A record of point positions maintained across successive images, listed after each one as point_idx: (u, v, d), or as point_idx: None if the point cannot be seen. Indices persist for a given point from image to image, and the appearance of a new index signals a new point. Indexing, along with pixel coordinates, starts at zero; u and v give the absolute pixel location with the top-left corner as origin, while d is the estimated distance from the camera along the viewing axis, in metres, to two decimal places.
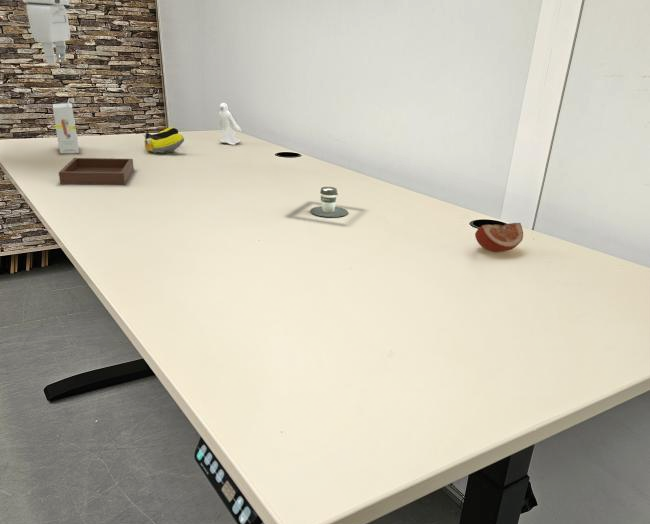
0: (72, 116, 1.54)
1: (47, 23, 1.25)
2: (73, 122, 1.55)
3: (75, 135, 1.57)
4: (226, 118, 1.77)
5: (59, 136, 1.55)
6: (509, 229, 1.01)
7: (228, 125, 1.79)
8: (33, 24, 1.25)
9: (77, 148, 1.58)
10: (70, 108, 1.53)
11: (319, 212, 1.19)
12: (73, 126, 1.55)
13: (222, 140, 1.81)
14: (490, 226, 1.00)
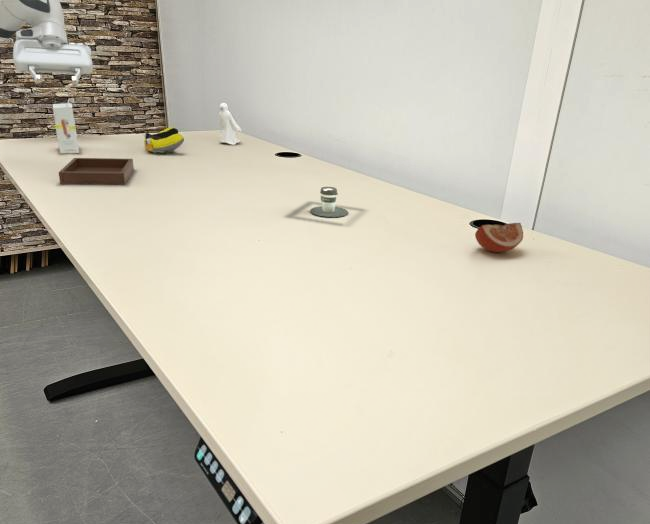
0: (72, 116, 1.54)
1: (13, 51, 1.60)
2: (73, 122, 1.55)
3: (75, 135, 1.57)
4: (226, 118, 1.77)
5: (59, 136, 1.55)
6: (509, 229, 1.01)
7: (228, 125, 1.79)
8: None
9: (77, 148, 1.58)
10: (70, 108, 1.53)
11: (319, 212, 1.18)
12: (73, 126, 1.55)
13: (222, 140, 1.81)
14: (490, 226, 1.00)
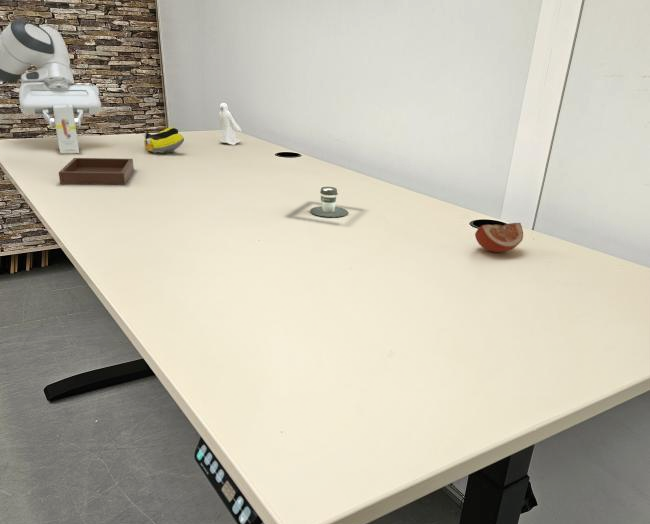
0: (72, 116, 1.54)
1: (19, 95, 1.54)
2: (73, 122, 1.55)
3: (75, 135, 1.57)
4: (226, 118, 1.77)
5: (59, 136, 1.55)
6: (509, 229, 1.01)
7: (228, 125, 1.79)
8: None
9: (77, 148, 1.58)
10: (70, 108, 1.53)
11: (319, 212, 1.18)
12: (73, 126, 1.55)
13: (222, 140, 1.81)
14: (490, 226, 1.00)
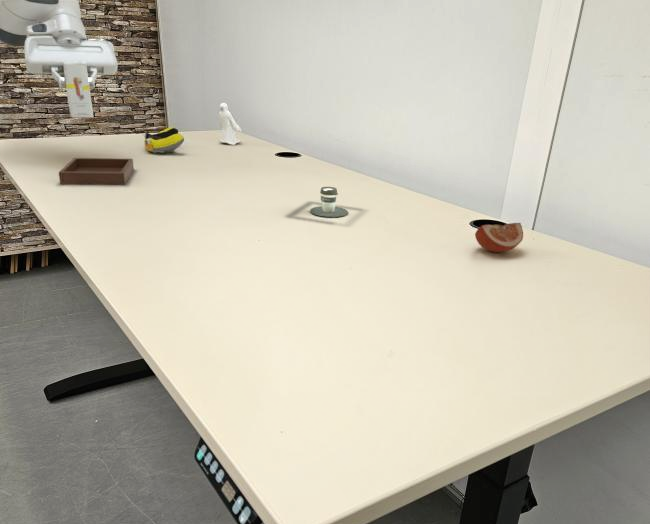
0: (86, 74, 1.35)
1: (24, 50, 1.34)
2: (87, 81, 1.35)
3: (89, 96, 1.37)
4: (226, 118, 1.77)
5: (71, 97, 1.35)
6: (509, 229, 1.01)
7: (228, 125, 1.79)
8: None
9: (91, 112, 1.38)
10: (84, 64, 1.34)
11: (319, 212, 1.18)
12: (87, 86, 1.36)
13: (222, 140, 1.81)
14: (490, 226, 1.00)
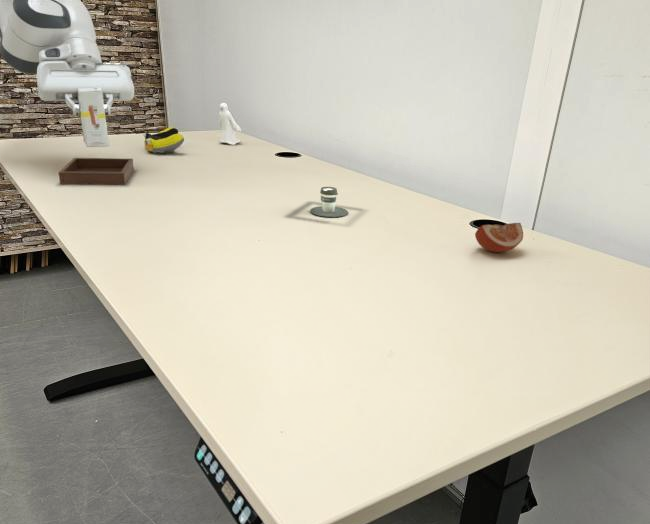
0: (102, 102, 1.27)
1: None
2: (103, 109, 1.28)
3: (105, 125, 1.29)
4: (226, 118, 1.77)
5: (86, 126, 1.28)
6: (509, 229, 1.01)
7: (228, 125, 1.79)
8: None
9: (107, 141, 1.31)
10: (99, 92, 1.26)
11: (319, 212, 1.18)
12: (103, 114, 1.28)
13: (222, 140, 1.81)
14: (490, 226, 1.00)
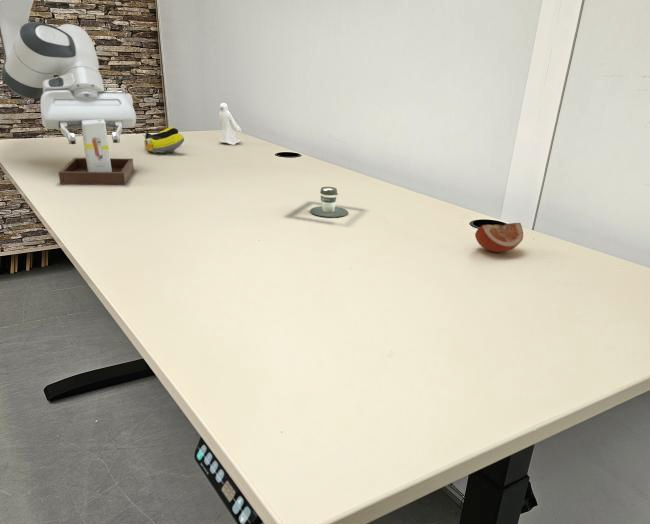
0: (105, 134, 1.30)
1: None
2: (106, 141, 1.31)
3: (108, 156, 1.32)
4: (226, 118, 1.77)
5: (89, 157, 1.31)
6: (509, 229, 1.01)
7: (228, 125, 1.79)
8: None
9: (110, 171, 1.34)
10: (103, 124, 1.29)
11: (319, 212, 1.18)
12: (106, 145, 1.31)
13: (222, 140, 1.81)
14: (490, 226, 1.00)
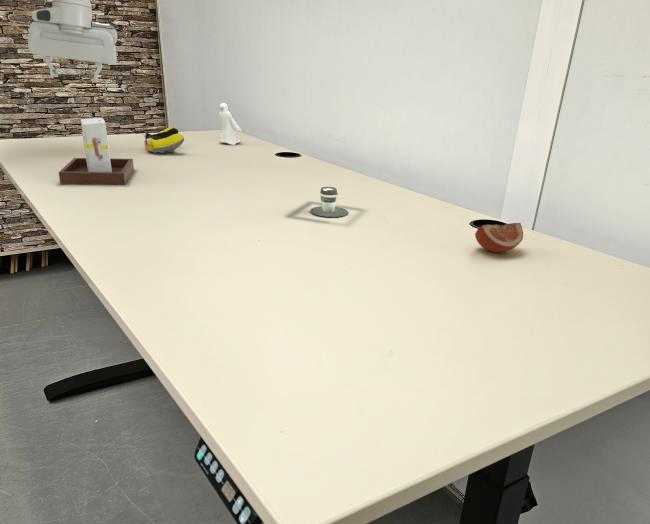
0: (105, 134, 1.30)
1: (28, 36, 1.42)
2: (106, 141, 1.31)
3: (108, 156, 1.32)
4: (226, 118, 1.77)
5: (89, 157, 1.31)
6: (509, 229, 1.01)
7: (228, 125, 1.79)
8: None
9: (110, 171, 1.34)
10: (103, 124, 1.29)
11: (319, 212, 1.18)
12: (106, 145, 1.31)
13: (222, 140, 1.81)
14: (490, 226, 1.00)
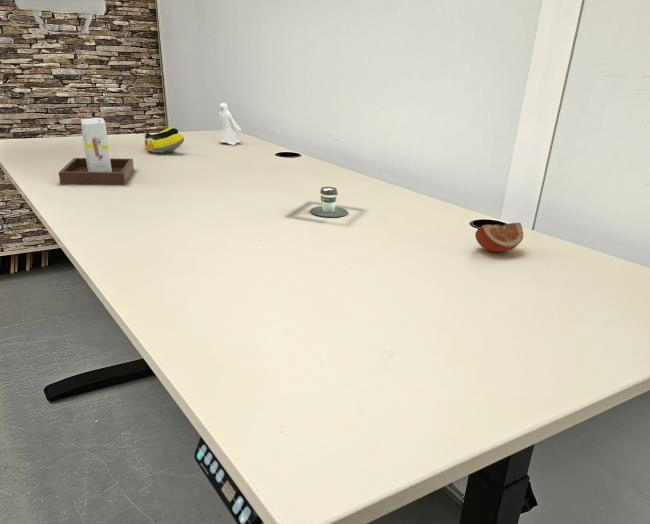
0: (105, 134, 1.30)
1: None
2: (106, 141, 1.31)
3: (108, 156, 1.32)
4: (226, 118, 1.77)
5: (89, 157, 1.31)
6: (509, 229, 1.01)
7: (228, 125, 1.79)
8: None
9: (110, 171, 1.34)
10: (103, 124, 1.29)
11: (319, 212, 1.18)
12: (106, 145, 1.31)
13: (222, 140, 1.81)
14: (490, 226, 1.00)
